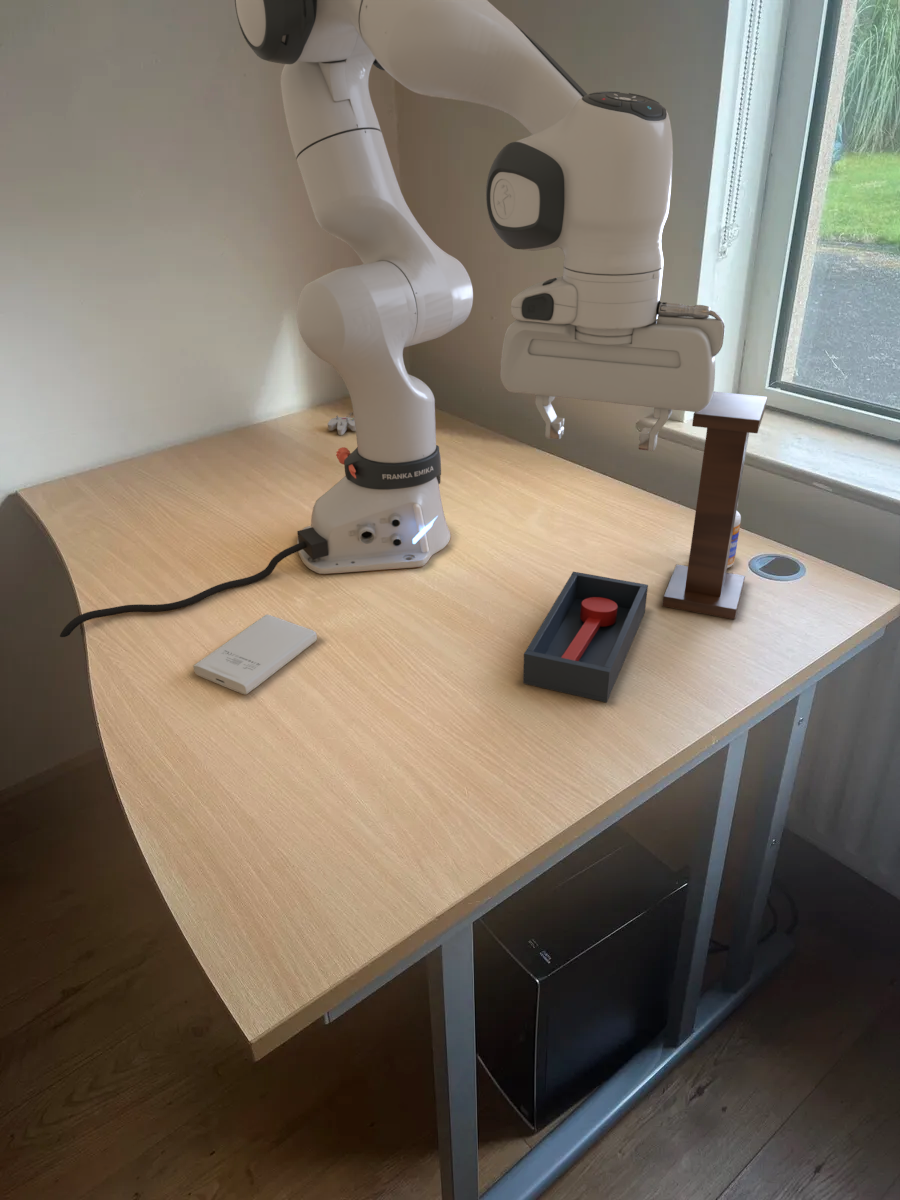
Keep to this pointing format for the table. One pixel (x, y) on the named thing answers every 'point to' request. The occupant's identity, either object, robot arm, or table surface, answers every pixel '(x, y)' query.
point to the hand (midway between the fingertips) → (600, 442)
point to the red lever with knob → (591, 624)
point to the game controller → (342, 424)
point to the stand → (716, 508)
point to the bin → (604, 650)
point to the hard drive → (255, 654)
